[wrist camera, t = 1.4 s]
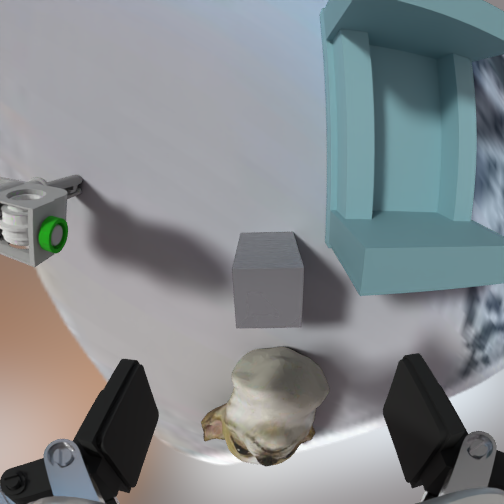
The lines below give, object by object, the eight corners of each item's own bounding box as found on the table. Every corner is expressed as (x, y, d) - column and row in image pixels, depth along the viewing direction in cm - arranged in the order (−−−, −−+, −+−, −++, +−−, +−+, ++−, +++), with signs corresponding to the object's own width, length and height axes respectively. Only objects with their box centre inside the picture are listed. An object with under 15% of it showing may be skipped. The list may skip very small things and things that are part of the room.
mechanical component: (32, 159, 19) (-62, 182, 9) (137, 175, 19) (45, 209, 10) (30, 194, 20) (-59, 230, 10) (131, 216, 20) (47, 275, 11)
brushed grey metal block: (240, 232, 20) (232, 269, 15) (292, 231, 20) (304, 267, 15) (242, 279, 22) (236, 328, 16) (292, 279, 21) (301, 326, 16)
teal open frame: (319, 14, 15) (349, -48, 7) (445, 39, 14) (512, 13, 7) (325, 242, 20) (359, 301, 13) (445, 240, 20) (509, 287, 12)
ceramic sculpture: (379, 420, 15) (300, 498, 21) (353, 335, 23) (297, 432, 29) (201, 401, 15) (188, 485, 21) (222, 311, 23) (202, 417, 29)
